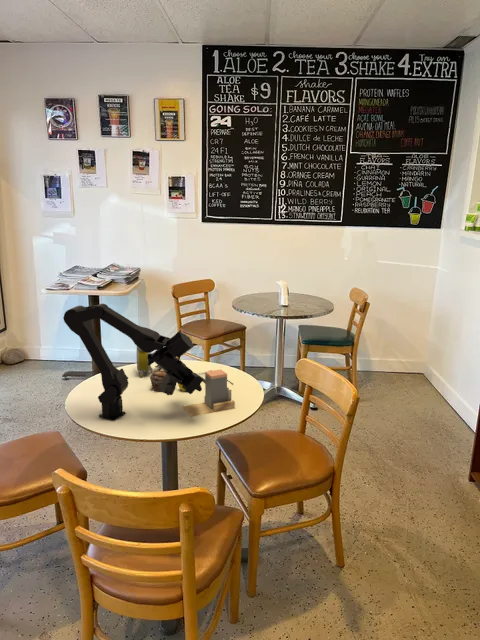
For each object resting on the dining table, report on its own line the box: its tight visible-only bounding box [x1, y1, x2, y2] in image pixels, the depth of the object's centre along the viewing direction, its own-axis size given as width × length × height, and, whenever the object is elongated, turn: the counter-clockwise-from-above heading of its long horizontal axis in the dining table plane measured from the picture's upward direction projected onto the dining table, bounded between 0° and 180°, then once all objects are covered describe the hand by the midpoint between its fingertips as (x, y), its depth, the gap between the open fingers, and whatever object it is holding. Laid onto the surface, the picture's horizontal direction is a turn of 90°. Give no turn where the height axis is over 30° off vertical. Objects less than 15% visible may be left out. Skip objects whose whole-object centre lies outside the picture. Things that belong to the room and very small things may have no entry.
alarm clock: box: [136, 346, 154, 378], centre depth 195 cm, size 12×7×15 cm, turn 9°
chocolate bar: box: [195, 370, 234, 386], centre depth 191 cm, size 9×1×18 cm
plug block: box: [204, 369, 228, 409], centre depth 163 cm, size 6×5×12 cm
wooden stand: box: [181, 386, 236, 418], centre depth 162 cm, size 16×9×7 cm, turn 116°
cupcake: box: [149, 364, 166, 393], centre depth 180 cm, size 10×10×10 cm
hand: (200, 390), depth 159 cm, fingers closed
